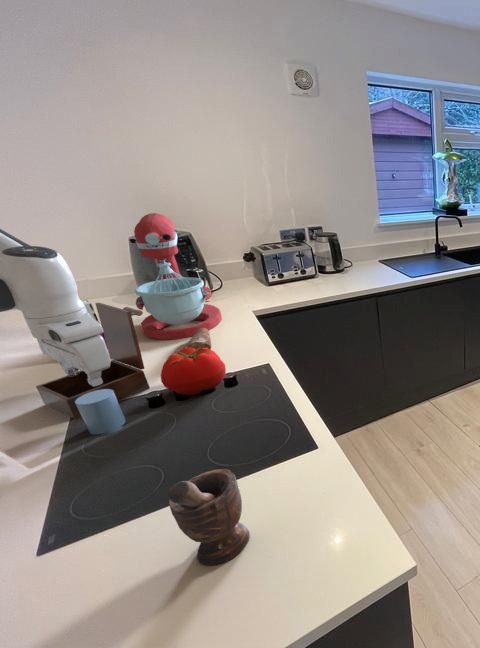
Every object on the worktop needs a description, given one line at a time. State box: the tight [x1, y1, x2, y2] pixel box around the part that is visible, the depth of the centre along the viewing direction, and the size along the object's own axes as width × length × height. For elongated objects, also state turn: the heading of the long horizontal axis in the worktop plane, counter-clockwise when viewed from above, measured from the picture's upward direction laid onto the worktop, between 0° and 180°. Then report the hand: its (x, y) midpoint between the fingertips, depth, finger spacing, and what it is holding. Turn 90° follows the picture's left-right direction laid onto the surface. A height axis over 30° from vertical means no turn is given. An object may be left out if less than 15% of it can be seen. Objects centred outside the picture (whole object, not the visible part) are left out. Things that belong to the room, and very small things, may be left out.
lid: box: [94, 302, 145, 371], centre depth 110 cm, size 16×15×5 cm
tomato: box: [160, 346, 227, 396], centre depth 110 cm, size 13×14×12 cm
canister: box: [75, 389, 127, 438], centre depth 94 cm, size 6×6×9 cm
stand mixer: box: [129, 212, 223, 341], centre depth 144 cm, size 24×32×40 cm
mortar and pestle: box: [167, 468, 251, 566], centre depth 63 cm, size 12×9×20 cm
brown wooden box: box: [35, 359, 151, 420], centre depth 105 cm, size 16×15×6 cm
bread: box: [186, 328, 212, 350], centre depth 134 cm, size 6×19×6 cm, turn 31°
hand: (84, 379), depth 90 cm, fingers open, 8 cm apart
